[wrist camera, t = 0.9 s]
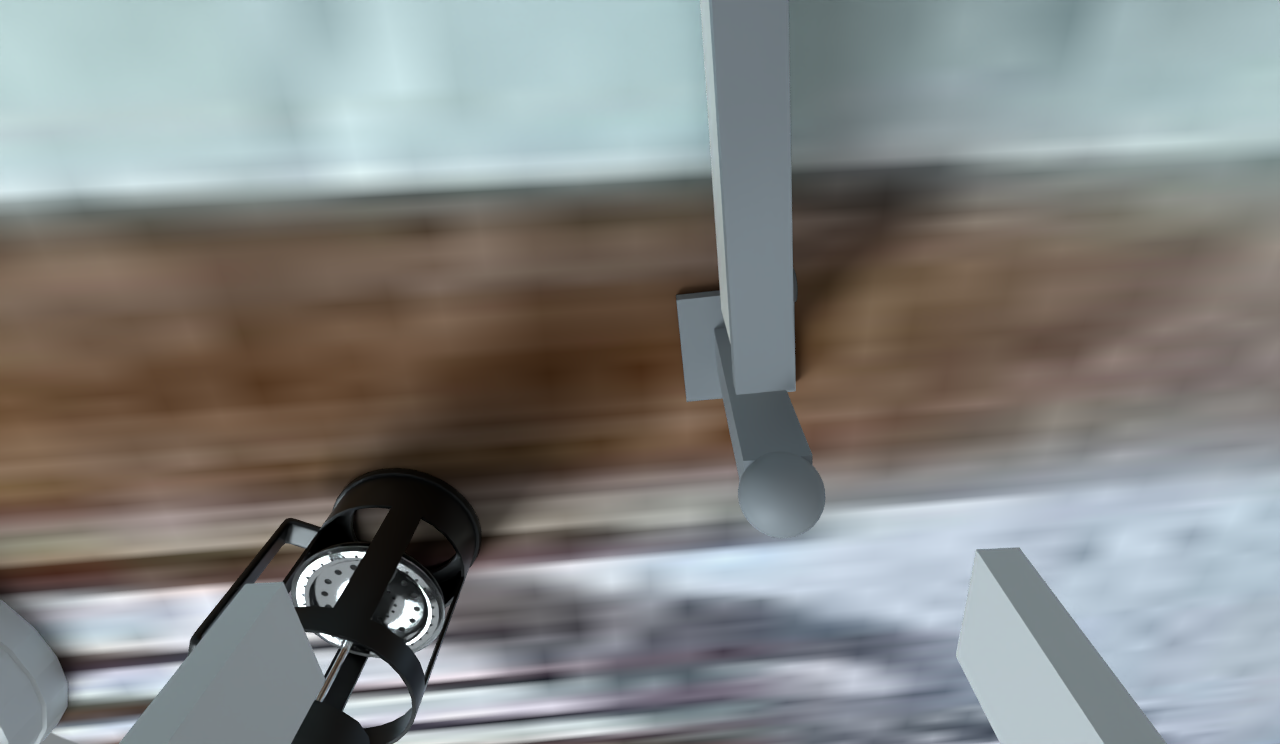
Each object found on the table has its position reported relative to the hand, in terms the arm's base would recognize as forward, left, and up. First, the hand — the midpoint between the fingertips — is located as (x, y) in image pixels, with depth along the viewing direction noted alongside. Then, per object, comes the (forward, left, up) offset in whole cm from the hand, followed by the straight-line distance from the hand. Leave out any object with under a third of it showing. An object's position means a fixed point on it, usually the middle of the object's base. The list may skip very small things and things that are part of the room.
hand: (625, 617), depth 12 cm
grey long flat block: (-9, +5, -21) cm, 24 cm away
